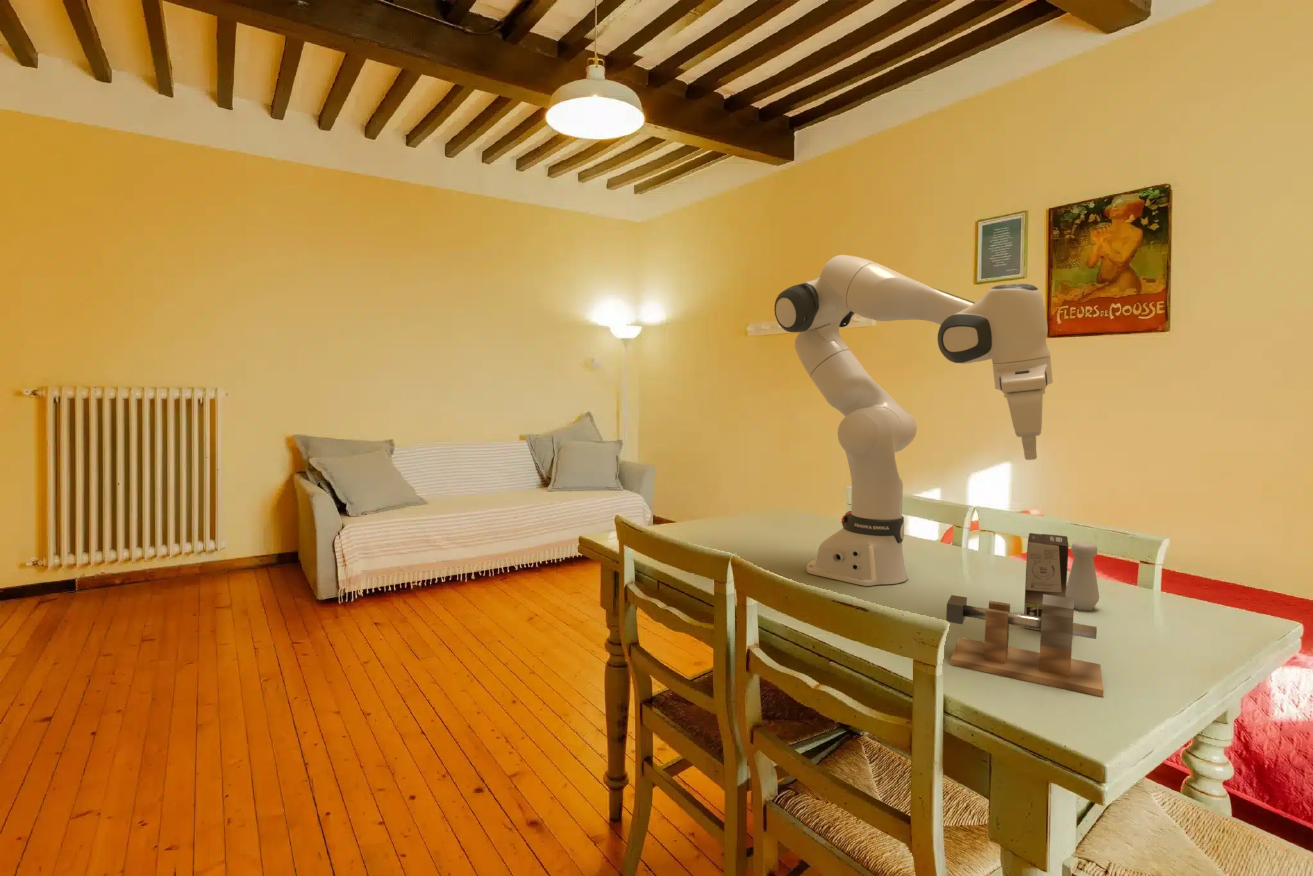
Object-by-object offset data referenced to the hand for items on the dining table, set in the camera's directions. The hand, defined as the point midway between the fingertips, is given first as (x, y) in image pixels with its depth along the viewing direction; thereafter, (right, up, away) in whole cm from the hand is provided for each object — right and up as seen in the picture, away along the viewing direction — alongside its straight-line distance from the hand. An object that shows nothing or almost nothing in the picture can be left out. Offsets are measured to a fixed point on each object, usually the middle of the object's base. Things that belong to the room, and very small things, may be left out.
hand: (1030, 453), depth 115 cm
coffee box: (+6, -32, +5) cm, 33 cm away
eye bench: (-8, -33, -13) cm, 37 cm away
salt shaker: (+18, -31, +14) cm, 39 cm away
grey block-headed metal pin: (-9, -27, -13) cm, 32 cm away
